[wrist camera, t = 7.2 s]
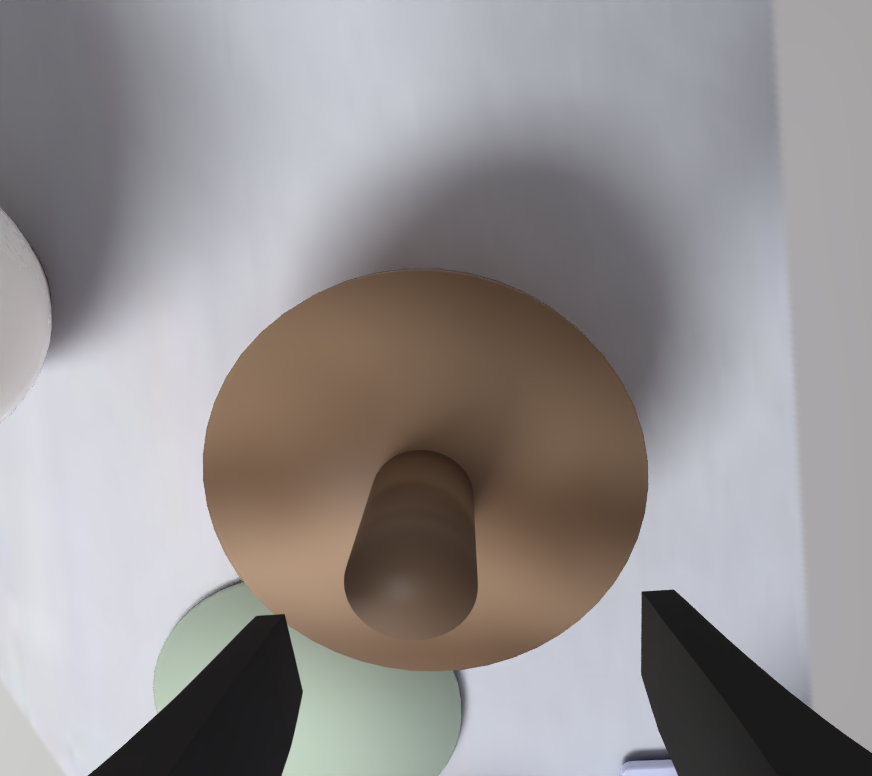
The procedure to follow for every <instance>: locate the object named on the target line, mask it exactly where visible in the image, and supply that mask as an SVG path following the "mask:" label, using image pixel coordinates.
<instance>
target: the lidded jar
mask: <svg viewBox="0 0 872 776" xmlns="http://www.w3.org/2000/svg"><path fill="white" fill-rule="evenodd" d="M51 329H52V317H51V300H50V291H49V286H48V281H47V279H46V276H45V273H44V270H43V267H42V266H41V264H40V262H39V260H38V258H37V256H36V254H35V253H34V251H33V250H32V248H31V247H30V245H29V243H28V242H27V241H26V239H25V238H24V236H23V235H22V233H21V232H20V230H19V229H18V227H17V226H16V224H15V223H14V222H13V221H12V220H11V219H10V218H9V216H8V215H7V214H6V213H5V212H4V211H3V210H2V209H1V207H0V423H1V422H3V421H4V420H5V419H6V418H7V417H8V416H10V415H11V414H12V412H13V411H14V410H15V409H16V408H17V406H18V405H19V404H20V403H21V402H22V400H23V399H24V398H25V396H26V395H27V394H28V392H29V391H30V390H31V388H32V387H33V385H34V383H35V381H36V379H37V378H38V376H39V374H40V372H41V370H42V367H43V364H44V361H45V358H46V354H47V351H48V348H49V344H50V337H51Z"/></svg>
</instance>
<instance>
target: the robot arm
mask: <svg viewBox="0 0 872 776" xmlns="http://www.w3.org/2000/svg"><path fill="white" fill-rule="evenodd" d="M641 675H642V678H643V682H644V685H645V688H646V692H647V695H648V698H649V702H650V705H651V708H652V711H653V714H654V717H655V720H656V724H657V727H658V730H659V732H660V735H661V737H662V739H663V742H664V744H665V747H666V749H667V751H668V754H669V756H670V758H671V760H644V761H629V762H626V763H624V764H623V765H622V767H621V776H872V753H871V752H869V751H868V750H866V749H865V748H863V747H862V746H861V745H859V744H858V743H856V742H855V741H854V740H852V739H851V738H849V737H848V736H846V735H845V734H844V733H842V732H841V731H840V730H838V729H837V728H835V727H834V726H833V725H831V724H830V723H829V722H827V721H826V720H825V719H823V718H822V717H821V716H820V715H818V714H817V713H816V712H814V711H813V710H812V709H811V708H809V707H808V706H807V705H805V704H804V703H803V702H802V701H800V700H799V699H798V698H796V697H795V696H794V695H793V694H791V693H790V692H789V691H788V690H787V689H785V688H784V687H783V686H782V685H780V684H779V683H778V682H777V681H776V680H774V679H773V678H772V677H771V676H770V675H768V674H767V673H766V672H765V671H764V670H763V669H761V668H760V667H759V666H758V665H757V664H756V663H754V662H753V661H752V660H751V659H750V658H749V657H747V656H746V655H745V654H744V653H743V652H742V651H741V650H739V649H738V648H737V647H736V646H735V645H734V644H733V643H732V642H730V641H729V640H728V639H727V638H726V637H725V636H724V635H723V634H722V633H721V632H719V631H718V630H717V629H716V628H715V627H714V626H713V625H712V624H711V623H710V622H708V621H707V620H706V619H705V618H704V617H703V616H702V615H701V614H700V613H699V612H698V611H697V610H696V609H694V608H693V607H692V606H691V605H690V604H689V603H688V602H687V601H686V600H685V599H684V598H682V597H681V596H680V595H679V594H678V593H677V592H676V591H675V590H661V591H645V592H642V635H641ZM302 695H303V689H302V685H301V681H300V677H299V672H298V668H297V664H296V660H295V655H294V651H293V647H292V643H291V638H290V634H289V630H288V626H287V621H286V617H285V614H276V615H260V616H256V617H254V618H253V619H252V620H251V621H250V622H249V623H248V624H247V625H246V626H245V627H244V628H243V629H242V630H241V631H240V632H239V633H238V634H237V635H236V636H235V637H234V638H233V639H232V640H231V642H230V643H229V644H228V645H227V646H226V647H225V648H224V649H223V650H222V651H221V652H220V653H219V654H218V655H217V656H216V657H215V658H214V659H213V660H212V661H211V662H210V663H209V664H208V665H207V666H206V667H205V668H204V669H203V670H202V671H201V672H200V673H199V674H198V675H197V676H196V677H195V678H194V679H193V680H192V681H191V682H190V683H189V684H188V685H187V686H186V687H185V688H184V689H183V690H182V691H181V692H180V693H179V694H178V695H177V696H176V697H175V698H174V699H173V700H172V701H171V702H170V703H169V704H168V705H167V706H165V707H164V708H163V709H162V710H161V711H160V712H159V713H158V714H157V715H156V716H155V717H154V718H153V719H152V720H150V721H149V722H148V723H147V724H146V725H145V726H144V727H143V728H142V729H141V730H140V731H139V732H138V733H136V734H135V735H134V736H133V737H132V738H131V739H130V740H129V741H128V742H127V743H126V744H125V745H123V746H122V747H121V748H120V749H119V750H118V751H117V752H115V753H114V754H113V755H112V756H111V757H110V758H108V759H107V760H106V761H105V762H104V763H103V764H101V765H100V766H99V767H98V768H97V769H95V770H94V771H93V772H92V773H91V774H89V775H88V776H282V773H283V770H284V767H285V764H286V761H287V758H288V755H289V752H290V749H291V745H292V741H293V737H294V732H295V728H296V724H297V719H298V714H299V709H300V704H301V700H302Z"/></svg>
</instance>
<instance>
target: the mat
mask: <svg viewBox="0 0 872 776" xmlns="http://www.w3.org/2000/svg"><path fill="white" fill-rule="evenodd" d="M260 615H275V614H273V613H272V612H271V611H270V610H269V609H268V608H267V607H266V606H265V605H264V604H263V603H262V602H261V601H260V600H259V599H258V598H257V597H256V596H255V595H254V594H253V593H252V592H251V590H250V589H249V588H248V587H247V585H246V584H245V583H244V582H241V583H238V584H235V585H233V586H230V587H227V588H225V589H222V590H220V591H218V592H216V593H215V594H213V595H211V596H209V597H207V598H205V599H204V600H203V601H201V602H200V603H199V604H197V605H196V606H195V607H193V608H192V609H191V610H190V611H189V612H188V613H187V614H186V615H185V616H184V617H183V618H182V619H181V620H180V621H179V622H178V624H177V625H176V627H175V628H174V630H173V631H172V632H171V634H170V635H169V637H168V638H167V640H166V641H165V643H164V645H163V647H162V649H161V652H160V654H159V656H158V659H157V663H156V667H155V671H154V681H153V693H154V703H155V707H156V711H157V714H158V713H159V712H160V711H161V710H162V709H163V708H164V707H165V706H167V705H168V704H169V703H170V702H171V701H172V700H173V699H174V698H175V697H176V696H177V695H178V694H179V693H180V692H181V691H182V690H183V689H184V688H185V687H186V686H187V685H188V684H189V683H190V682H191V681H192V680H193V679H194V678H195V677H196V676H197V675H198V674H199V673H200V672H201V671H202V670H203V669H204V668H205V667H206V666H207V665H208V664H209V663H210V662H211V661H212V660H213V659H214V658H215V657H216V656H217V655H218V654H219V653H220V652H221V651H222V650H223V649H224V648H225V647H226V646H227V645H228V644H229V643H230V642H231V640H232V639H233V638H234V637H235V636H236V635H237V634H238V633H239V632H240V631H241V630H242V629H243V628H244V627H245V626H246V625H247V624H248V623H249V622H250V621H251V620H252V619H253V618H254V617H256V616H260ZM287 626H288V630H289V634H290V638H291V643H292V647H293V651H294V655H295V660H296V664H297V668H298V672H299V677H300V681H301V685H302V689H303V695H302V700H301V704H300V709H299V714H298V719H297V724H296V728H295V732H294V737H293V741H292V745H291V749H290V752H289V755H288V758H287V761H286V764H285V767H284V770H283V773H282V776H438V775H439V774H440V773H441V771H442V770H443V769H444V767H445V766H446V765H447V763H448V761H449V759H450V758H451V756H452V754H453V752H454V750H455V747H456V744H457V740H458V737H459V733H460V726H461V696H460V691H459V686H458V681H457V678H456V676H455V673H454V670H451V671H410V670H403V669H395V668H388V667H383V666H379V665H375V664H370V663H366V662H362V661H359V660H356V659H353V658H350V657H348V656H345V655H342V654H339V653H337V652H334V651H332V650H330V649H328V648H326V647H324V646H322V645H320V644H318V643H316V642H314V641H312V640H310V639H309V638H307V637H306V636H304V635H302V634H301V633H299V632H297V631H296V630H294V629H293V628H291V627H290V626H289V625H287Z"/></svg>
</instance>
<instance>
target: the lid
mask: <svg viewBox="0 0 872 776" xmlns="http://www.w3.org/2000/svg"><path fill="white" fill-rule="evenodd" d="M203 481H204V488H205V494H206V501H207V507H208V510H209V513H210V517H211V520H212V523H213V527H214V530H215V532H216V535H217V537H218V539H219V541H220V543H221V546H222V548H223V550H224V552H225V554H226V556H227V557H228V559H229V561H230V562H231V564H232V566H233V567H234V569H235V570H236V572H237V574H238V575H239V577H240V578H241V579H242V580H243V582H244V583H245V584H246V585H247V587H248V588H249V589H250V590H251V592H252V593H253V594H254V595H255V596H256V597H257V598H258V599H259V600H260V601H261V602H262V603H263V604H264V605H265V606H266V607H267V608H268V609H269V610H270V611H271V612H272V613H273V614H275V615H276V614H285V617H286V621H287V625H289V626H290V627H291V628H293V629H294V630H296V631H297V632H299V633H301V634H302V635H304V636H306V637H307V638H309V639H310V640H312V641H314V642H316V643H318V644H320V645H322V646H324V647H326V648H328V649H330V650H332V651H334V652H337V653H339V654H342V655H345V656H348V657H350V658H353V659H356V660H359V661H362V662H366V663H370V664H375V665H379V666H383V667H388V668H395V669H403V670H410V671H451V670H464V669H469V668H475V667H480V666H486V665H490V664H493V663H497V662H500V661H504V660H507V659H510V658H513V657H516V656H518V655H521V654H523V653H525V652H528V651H530V650H532V649H535V648H537V647H539V646H541V645H542V644H544V643H546V642H548V641H549V640H551V639H553V638H555V637H557V636H558V635H560V634H561V633H562V632H564V631H565V630H567V629H568V628H569V627H571V626H572V625H573V624H575V623H576V622H578V621H579V620H580V619H581V618H582V617H583V616H584V615H585V614H586V613H587V612H589V611H590V610H591V609H592V608H593V607H594V606H595V605H596V604H597V603H598V602H599V601H600V599H601V598H602V597H603V596H604V595H605V593H606V592H607V591H608V590H609V589H610V587H611V586H612V585H613V584H614V582H615V581H616V579H617V577H618V576H619V574H620V573H621V571H622V569H623V568H624V566H625V565H626V563H627V561H628V559H629V557H630V554H631V552H632V550H633V548H634V545H635V543H636V541H637V539H638V535H639V532H640V528H641V525H642V521H643V518H644V514H645V507H646V500H647V492H648V460H647V454H646V448H645V442H644V436H643V432H642V429H641V426H640V423H639V420H638V417H637V414H636V410H635V407H634V405H633V403H632V401H631V399H630V397H629V395H628V393H627V391H626V389H625V387H624V385H623V383H622V381H621V380H620V378H619V377H618V375H617V374H616V373H615V371H614V370H613V368H612V367H611V365H610V364H609V363H608V361H607V360H606V358H605V357H604V356H603V355H602V354H601V353H600V351H599V350H598V349H597V348H596V347H595V346H594V345H593V344H592V343H591V342H590V341H589V340H588V339H587V338H586V337H585V336H584V334H583V333H582V332H580V331H579V330H578V329H577V328H576V327H575V326H574V325H573V324H571V323H570V322H569V321H568V320H566V319H565V318H564V317H563V316H561V315H560V314H559V313H558V312H556V311H555V310H554V309H552V308H551V307H549V306H547V305H546V304H544V303H542V302H541V301H539V300H537V299H536V298H534V297H532V296H531V295H529V294H527V293H525V292H522V291H520V290H518V289H515V288H513V287H511V286H508V285H506V284H504V283H501V282H499V281H496V280H492V279H488V278H485V277H481V276H477V275H474V274H470V273H464V272H457V271H449V270H442V269H401V270H393V271H386V272H379V273H373V274H369V275H366V276H362V277H359V278H355V279H351V280H348V281H345V282H342V283H340V284H338V285H335V286H333V287H331V288H328V289H326V290H324V291H321V292H319V293H317V294H315V295H314V296H312V297H310V298H308V299H307V300H305V301H303V302H302V303H300V304H299V305H297V306H295V307H294V308H292V309H290V310H289V311H287V312H285V313H284V314H283V315H281V316H280V317H279V318H278V319H277V320H275V321H274V322H273V323H272V324H271V325H269V326H268V327H267V328H266V329H265V330H263V331H262V332H261V333H260V334H259V335H258V336H257V337H256V339H255V340H254V341H253V342H252V343H251V344H250V345H249V346H248V347H247V348H246V350H245V351H244V352H243V353H242V354H241V356H240V357H239V359H238V360H237V362H236V363H235V365H234V366H233V368H232V369H231V371H230V372H229V374H228V375H227V377H226V378H225V381H224V383H223V385H222V387H221V389H220V391H219V393H218V396H217V398H216V400H215V402H214V405H213V409H212V412H211V415H210V419H209V422H208V426H207V430H206V437H205V444H204V452H203Z"/></svg>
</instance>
